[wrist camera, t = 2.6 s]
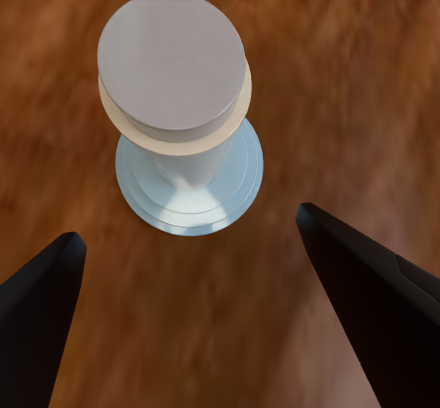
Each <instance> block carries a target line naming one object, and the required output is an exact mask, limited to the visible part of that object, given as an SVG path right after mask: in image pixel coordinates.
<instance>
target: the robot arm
mask: <svg viewBox="0 0 440 408" xmlns="http://www.w3.org/2000/svg"><path fill="white" fill-rule="evenodd" d="M296 223H297V226H298V229H299V232H300V235H301V238H302V240H303V243H304V246H305V249H306V252H307V254H308V256H309V258H310V260H311V263H312V265H313V267H314V269H315V271H316V273H317V275H318V277H319V279H320V281H321V283H322V285H323V287H324V289H325V292H326V294H327V296H328V298H329V300H330V302H331V304H332V306H333V308H334V310H335V312H336V314H337V316H338V318H339V321H340V323H341V325H342V327H343V329H344V331H345V333H346V335H347V337H348V339H349V341H350V343H351V345H352V347H353V350H354V352H355V354H356V356H357V358H358V360H359V362H360V364H361V366H362V369H363V371H364V373H365V375H366V377H367V379H368V381H369V383H370V385H371V387H372V389H373V391H374V393H375V395H376V398H377V400H378V402H379V404H380V406H381V408H440V278H438V277H436V276H434V275H432V274H430V273H429V272H427V271H425V270H423V269H421V268H420V267H418V266H416V265H415V264H413V263H411V262H409V261H408V260H406V259H404V258H403V257H401V256H399V255H398V254H395V253H394V252H392V251H391V250H389V249H387V248H386V247H384V246H382V245H381V244H379V243H377V242H376V241H374V240H372V239H371V238H369V237H367V236H366V235H364V234H362V233H361V232H359V231H357V230H356V229H354V228H352V227H351V226H349V225H347V224H346V223H344V222H342V221H341V220H339V219H337V218H336V217H334V216H332V215H331V214H329V213H327V212H326V211H324V210H322V209H321V208H319V207H317V206H316V205H314V204H312V203H310V202H307V203H301V204H300V205H299V208H298V211H297V215H296ZM85 257H86V245H85V243H84V242H83V240H82V239H81V237H80V236H79V235H78V233H76V232H66V233H63V234H61V235H60V236H59V237H58V238H56V239H55V240H54V241H53V242H52V243H51V244H49V245H48V246H47V247H46V248H45V249H43V250H42V251H41V252H40V253H39V254H37V255H36V256H35V257H34V258H33V259H31V260H30V261H29V262H28V263H27V264H25V265H24V266H23V267H22V268H21V269H19V270H18V271H17V272H16V273H15V274H13V275H12V276H11V277H10V278H9V279H7V280H6V281H5V282H4V283H3V284H1V285H0V408H48V406H49V403H50V399H51V395H52V392H53V388H54V384H55V381H56V377H57V373H58V370H59V366H60V362H61V359H62V355H63V351H64V348H65V344H66V340H67V337H68V333H69V329H70V325H71V322H72V318H73V314H74V311H75V307H76V303H77V300H78V296H79V292H80V288H81V283H82V277H83V271H84V264H85Z"/></svg>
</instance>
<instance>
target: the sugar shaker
mask: <svg viewBox="0 0 440 408" xmlns="http://www.w3.org/2000/svg"><path fill="white" fill-rule="evenodd" d="M97 62H98V70H99V78H98V80H99V92H100V97H101V101H102V103H103V106H104V109H105V111H106V113H107V115H108V117H109V118H110V120H111V121H112V123H113V124H114V125H115V127H116V128H117V129H118V130H119V131H120V132H121V133H122V134H123V135H124V136H125V138H126V139H127V140H128V141H129V142H130V143H131V144H132V145H133V146H134V147H135V148H136V149H137V150H138V152H139V153H140V154H141V155H142V156H143V157H144V158H145V159H146V160H147V161H148V162H149V163H150V164H151V165H152V167H153V168H154V169H155V170H156V171H157V172H158V173H159V174H160V175H161V176H162V177H163V178H164V179H165V181H167V182H168V183H169V184H171V185H172V186H174V187H176V188H179V189H183V190H198V189H202V188H205V187H207V186H208V185H210V184H211V183H213V182H214V181H215V180H216V179H217V178H218V177H219V175H220V173H221V172H222V170H223V167H224V165H225V163H226V160H227V158H228V155H229V153H230V151H231V148H232V146H233V144H234V141H235V139H236V137H237V134H238V132H239V129H240V127H241V125H242V122H243V120H244V118H245V115H246V113H247V110H248V107H249V104H250V99H251V92H252V82H251V74H250V70H249V66H248V63H247V60H246V58H245V53H244V49H243V45H242V42H241V40H240V37H239V35H238V33H237V31H236V29H235V27H234V26H233V25H232V23H231V22H230V20H229V19H228V18H227V17H226V16H225V15H224V14H223V13H222V12H221V11H220V10H219V9H217V8H216V7H215V6H213V5H212V4H210V3H209V2H207V1H205V0H131V1H129V2H127V3H126V4H125V5H123V6H122V7H120V8H119V9H118V10H117V11H116V12H115V13H114V14H113V15H112V17H111V18H110V19H109V21H108V22H107V24H106V26H105V27H104V29H103V32H102V34H101V37H100V40H99V44H98V52H97Z"/></svg>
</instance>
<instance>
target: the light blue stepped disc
mask: <svg viewBox="0 0 440 408" xmlns="http://www.w3.org/2000/svg"><path fill="white" fill-rule="evenodd" d="M115 165H116V175H117V180H118V183H119V186H120V189H121V192H122V194H123V196H124V198H125V200H126V201H127V202H128V204H129V205H130V207H131V208H132V209H133V210H134V211H135V212H136V214H137V215H138V216H140V217H141V218H142V219H143V220H144V221H146V222H147V223H149V224H150V225H152V226H153V227H155V228H158V229H160V230H162V231H164V232H168V233H171V234H175V235H182V236H198V235H205V234H209V233H213V232H216V231H218V230H221V229H223V228H225V227H227V226H229V225H230V224H232V223H233V222H234V221H236V220H237V219H238V218H239V217H240V216H242V215H243V214H244V213H245V211H246V210H247V209H248V208H249V206H250V205H251V204H252V202H253V200H254V199H255V197H256V195H257V192H258V190H259V187H260V184H261V180H262V174H263V155H262V150H261V146H260V142H259V140H258V137H257V135H256V133H255V131H254V129H253V127H252V126H251V124H250V123H249V122H248V120H247V119H246V118H244V120H243V122H242V125H241V127H240V129H239V132H238V134H237V137H236V139H235V141H234V144H233V146H232V148H231V151H230V153H229V155H228V158H227V160H226V163H225V165H224V167H223V170H222V172H221V173H220V175H219V177H218V178H217V179H216V180H215V181H214V182H213V183H211V184H210V185H208V186H207V187H205V188H202V189H198V190H183V189H179V188H176V187H174V186H172V185H171V184H169V183H168V182H167V181H165V179H164V178H163V177H162V176H161V175H160V174H159V173H158V172H157V171H156V170H155V169H154V168H153V167H152V165H151V164H150V163H149V162H148V161H147V160H146V159H145V158H144V157H143V156H142V155H141V154H140V153H139V152H138V150H137V149H136V148H135V147H134V146H133V145H132V144H131V143H130V142H129V141H128V140H127V139H126V138H125V136H124V135H123V134H121V137H120V140H119V142H118V146H117V151H116V160H115Z"/></svg>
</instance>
